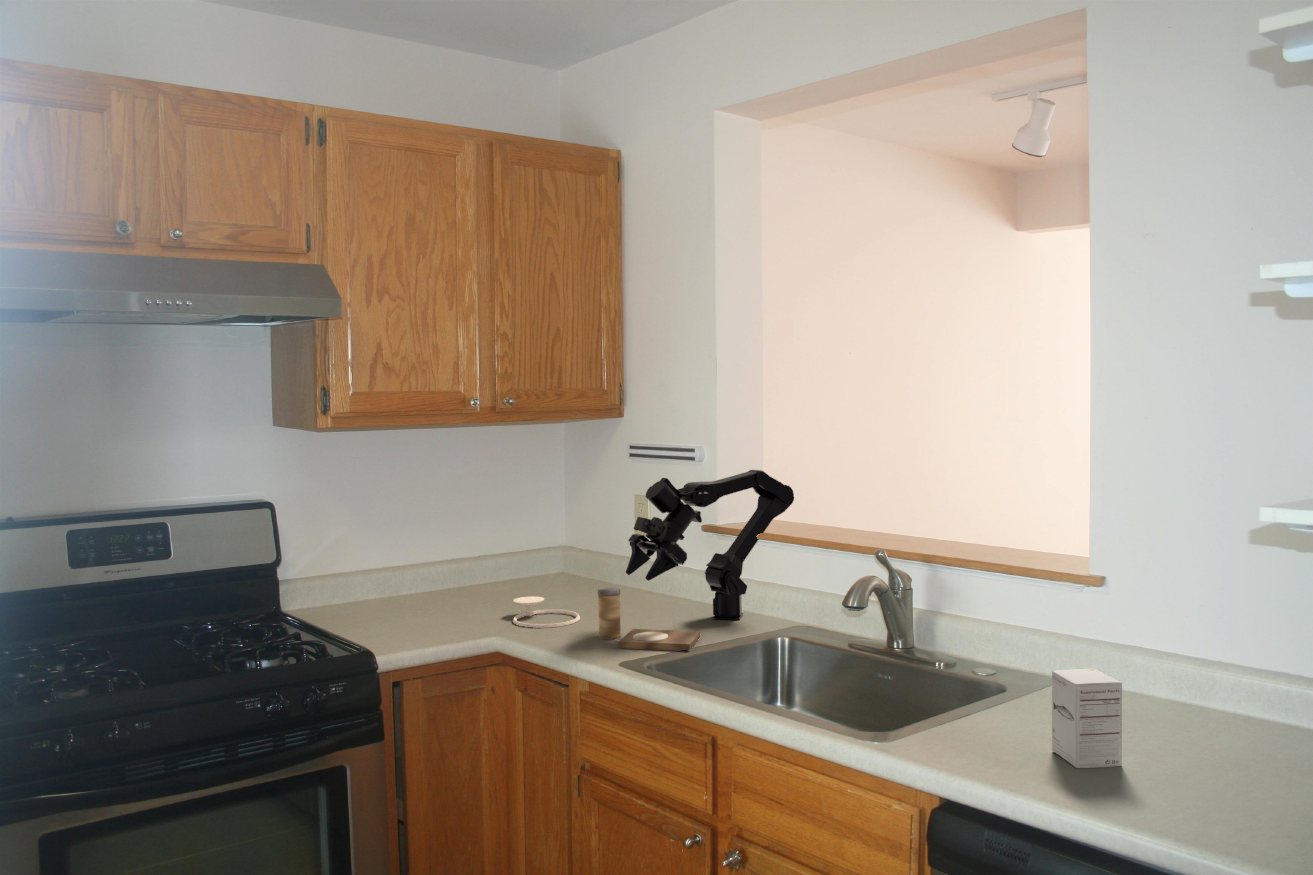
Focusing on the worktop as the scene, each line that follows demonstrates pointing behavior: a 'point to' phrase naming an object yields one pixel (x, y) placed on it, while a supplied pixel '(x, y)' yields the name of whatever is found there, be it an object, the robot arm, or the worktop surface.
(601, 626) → the tan jar with lid
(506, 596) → the worktop surface
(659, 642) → the walnut board
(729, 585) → the robot arm
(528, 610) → the hand towel holder
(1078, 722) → the supplement box
